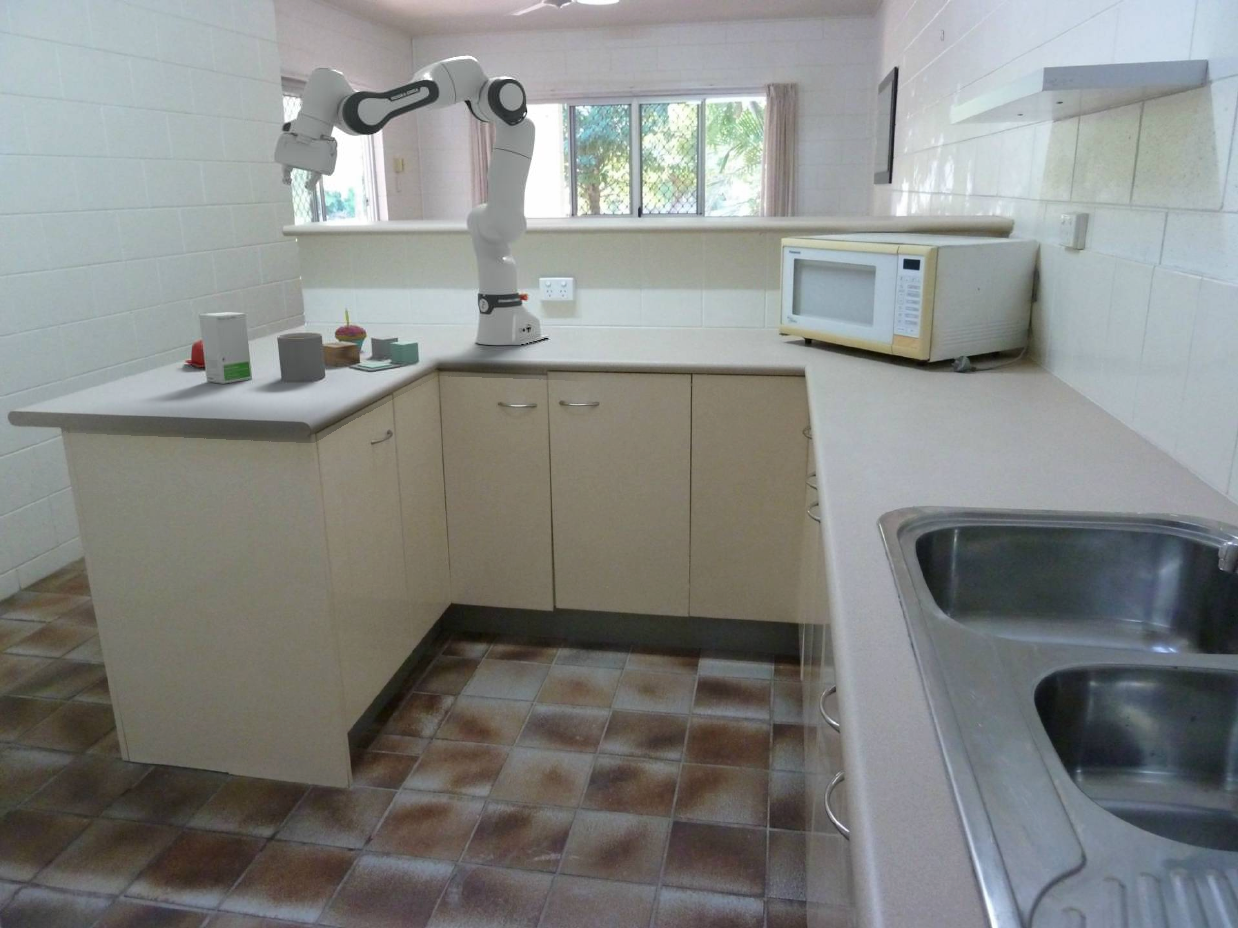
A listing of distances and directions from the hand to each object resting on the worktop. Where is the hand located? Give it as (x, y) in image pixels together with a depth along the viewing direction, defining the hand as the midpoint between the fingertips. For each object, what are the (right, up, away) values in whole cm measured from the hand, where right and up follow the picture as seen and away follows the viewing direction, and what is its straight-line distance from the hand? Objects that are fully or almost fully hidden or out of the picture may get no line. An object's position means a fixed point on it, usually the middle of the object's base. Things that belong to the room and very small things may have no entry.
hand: (297, 187), depth 235 cm
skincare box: (-10, -50, -16) cm, 54 cm away
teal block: (+25, -43, +8) cm, 51 cm away
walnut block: (+9, -44, +6) cm, 45 cm away
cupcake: (+7, -38, +24) cm, 46 cm away
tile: (+20, -45, 0) cm, 49 cm away
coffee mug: (+6, -49, -12) cm, 51 cm away
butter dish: (-22, -45, +3) cm, 50 cm away
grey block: (+18, -41, +16) cm, 47 cm away
